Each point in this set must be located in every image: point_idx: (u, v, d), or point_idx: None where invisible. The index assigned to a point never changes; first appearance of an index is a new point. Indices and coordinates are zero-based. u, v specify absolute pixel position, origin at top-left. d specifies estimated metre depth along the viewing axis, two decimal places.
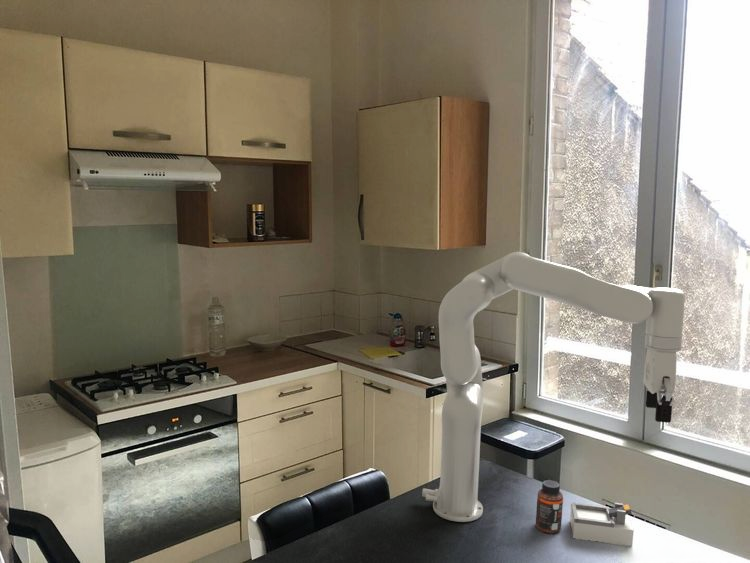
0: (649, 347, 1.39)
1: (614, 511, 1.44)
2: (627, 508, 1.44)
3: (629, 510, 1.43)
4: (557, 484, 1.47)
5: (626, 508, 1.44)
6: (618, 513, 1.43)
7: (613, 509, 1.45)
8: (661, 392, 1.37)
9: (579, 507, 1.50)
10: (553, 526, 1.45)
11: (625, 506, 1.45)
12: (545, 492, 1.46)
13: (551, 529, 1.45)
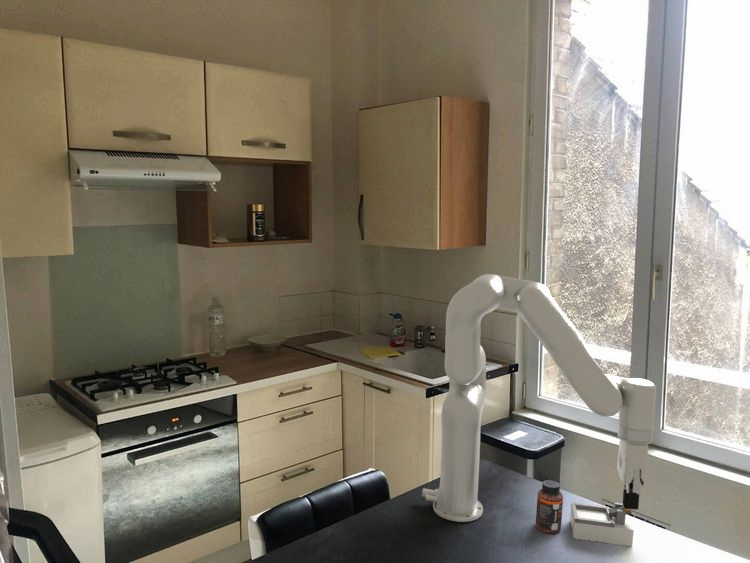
0: (621, 438, 1.41)
1: (614, 511, 1.44)
2: None
3: (629, 510, 1.43)
4: (557, 484, 1.47)
5: None
6: (618, 513, 1.43)
7: (613, 509, 1.45)
8: (630, 484, 1.41)
9: (579, 507, 1.50)
10: (553, 526, 1.45)
11: None
12: (545, 492, 1.46)
13: (551, 529, 1.45)
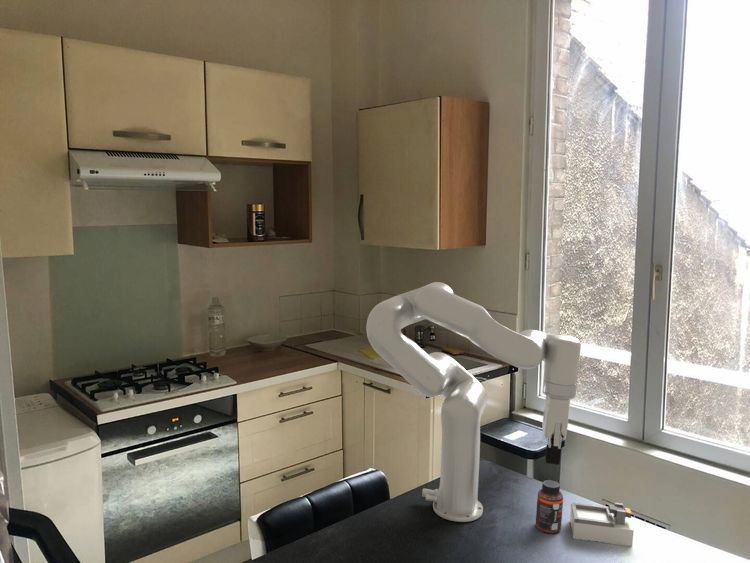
0: (545, 393, 1.43)
1: (615, 509, 1.44)
2: (629, 511, 1.44)
3: (630, 514, 1.43)
4: (557, 484, 1.47)
5: (628, 511, 1.44)
6: (618, 513, 1.43)
7: (614, 506, 1.45)
8: (552, 438, 1.43)
9: (579, 507, 1.50)
10: (553, 526, 1.45)
11: (627, 509, 1.45)
12: (545, 492, 1.46)
13: (551, 529, 1.45)
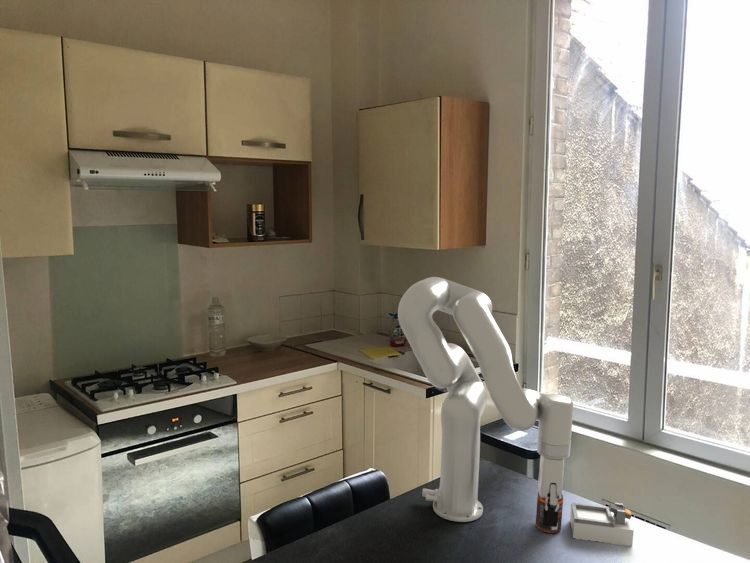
0: (539, 452, 1.45)
1: (616, 508, 1.44)
2: (629, 513, 1.44)
3: (630, 515, 1.43)
4: None
5: (628, 512, 1.44)
6: (618, 513, 1.43)
7: (615, 506, 1.45)
8: (548, 498, 1.44)
9: (579, 507, 1.50)
10: None
11: (627, 510, 1.45)
12: None
13: (551, 529, 1.45)
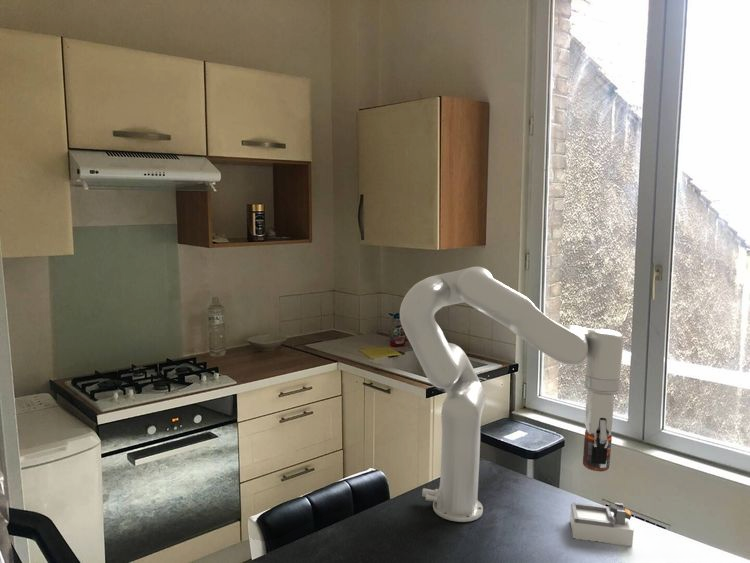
0: (588, 388, 1.41)
1: (616, 508, 1.44)
2: (629, 513, 1.44)
3: (630, 515, 1.43)
4: None
5: (628, 512, 1.44)
6: (618, 513, 1.43)
7: (615, 506, 1.45)
8: (597, 435, 1.40)
9: (579, 507, 1.50)
10: (602, 464, 1.42)
11: (627, 510, 1.45)
12: None
13: (600, 467, 1.42)
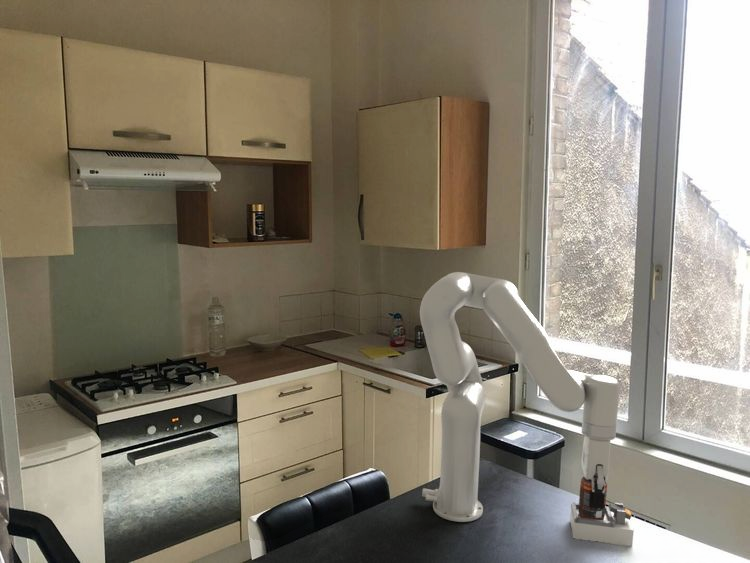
0: (585, 434, 1.42)
1: (616, 508, 1.44)
2: (629, 513, 1.44)
3: (630, 516, 1.43)
4: None
5: (628, 512, 1.44)
6: (618, 513, 1.43)
7: (615, 506, 1.45)
8: (595, 479, 1.41)
9: None
10: (598, 514, 1.43)
11: (627, 510, 1.45)
12: (589, 480, 1.44)
13: (595, 517, 1.43)
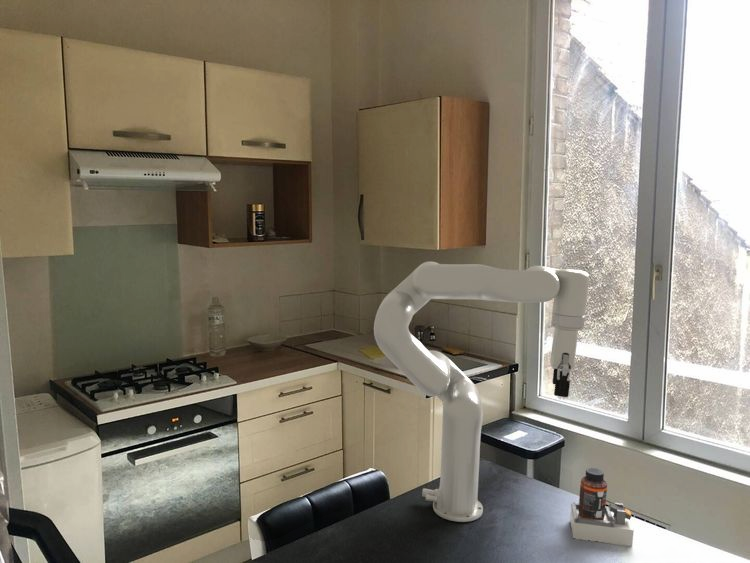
0: (553, 325, 1.46)
1: (616, 508, 1.44)
2: (629, 513, 1.44)
3: (630, 516, 1.43)
4: (601, 471, 1.45)
5: (628, 512, 1.44)
6: (618, 513, 1.43)
7: (615, 506, 1.45)
8: (561, 368, 1.44)
9: None
10: (598, 514, 1.43)
11: (627, 510, 1.45)
12: (589, 480, 1.44)
13: (595, 517, 1.43)
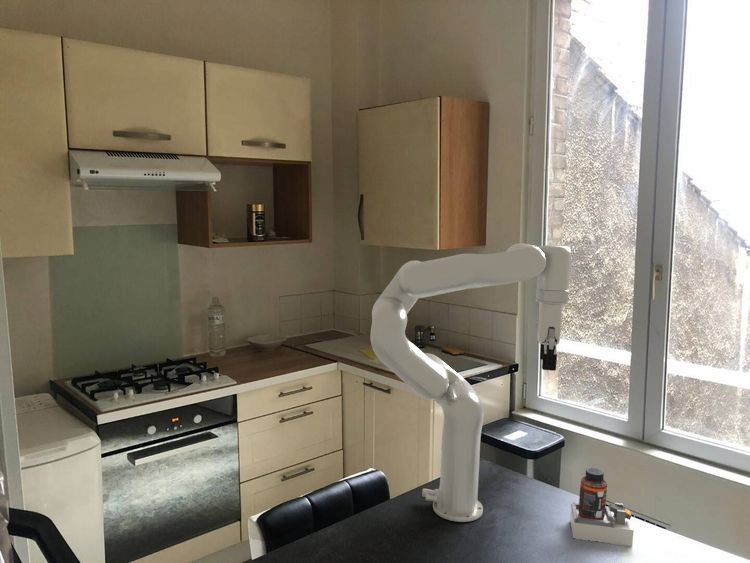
0: (538, 300, 1.48)
1: (616, 508, 1.44)
2: (629, 513, 1.44)
3: (630, 516, 1.43)
4: (601, 471, 1.45)
5: (628, 512, 1.44)
6: (618, 513, 1.43)
7: (615, 506, 1.45)
8: (547, 342, 1.46)
9: None
10: (598, 514, 1.43)
11: (627, 510, 1.45)
12: (589, 480, 1.44)
13: (595, 517, 1.43)
